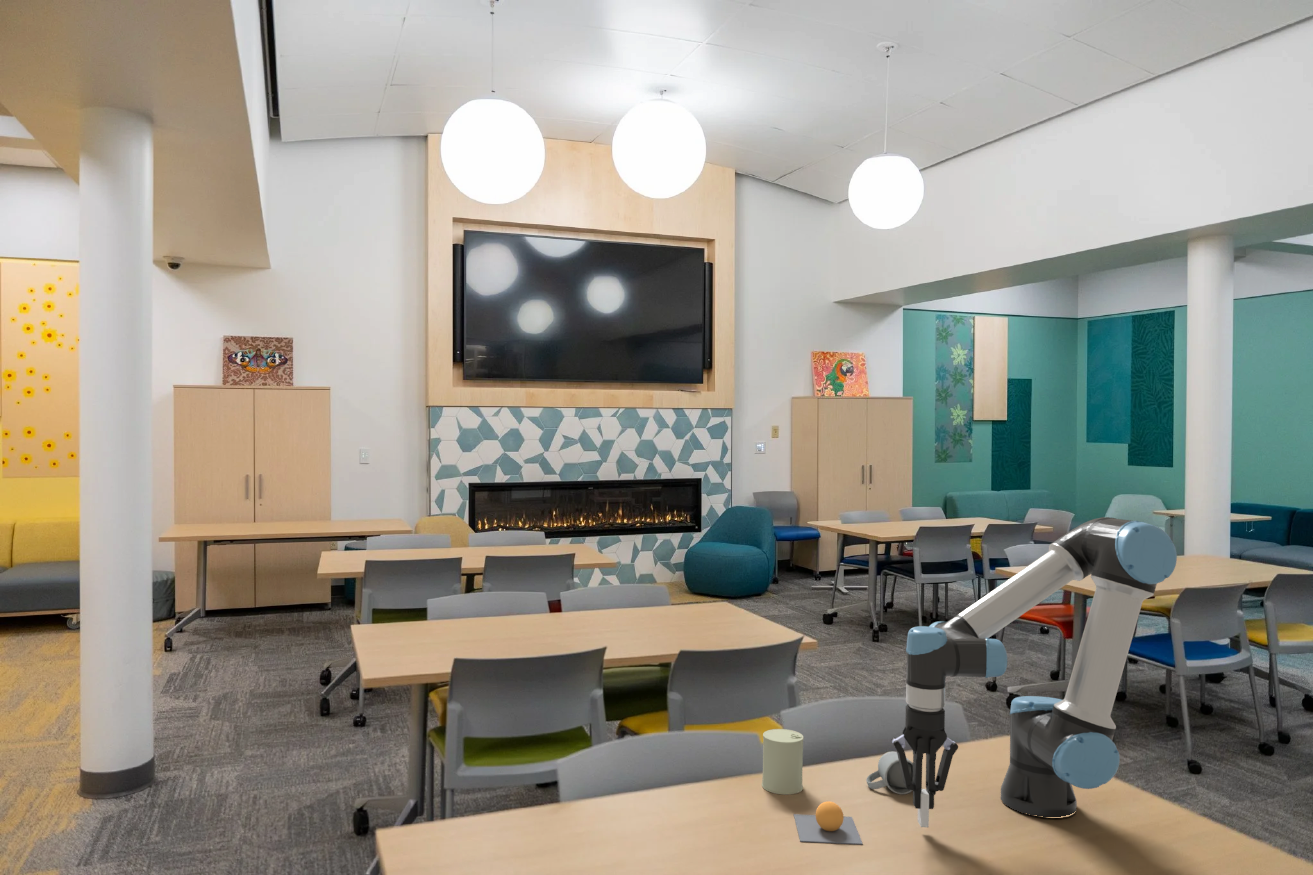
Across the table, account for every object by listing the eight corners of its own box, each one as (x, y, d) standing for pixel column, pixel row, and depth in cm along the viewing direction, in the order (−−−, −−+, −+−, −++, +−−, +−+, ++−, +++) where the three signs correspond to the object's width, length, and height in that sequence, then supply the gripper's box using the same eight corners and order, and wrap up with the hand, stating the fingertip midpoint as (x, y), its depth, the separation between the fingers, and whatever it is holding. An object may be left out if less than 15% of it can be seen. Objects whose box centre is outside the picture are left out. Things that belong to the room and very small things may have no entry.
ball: (843, 799, 174) (816, 794, 174) (848, 811, 169) (820, 805, 169) (838, 826, 174) (811, 820, 174) (842, 838, 169) (815, 833, 169)
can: (802, 796, 188) (803, 741, 188) (760, 792, 190) (761, 738, 190) (803, 780, 197) (804, 728, 197) (763, 776, 199) (764, 725, 199)
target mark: (851, 817, 178) (851, 816, 178) (862, 844, 166) (862, 843, 166) (793, 815, 178) (793, 814, 178) (800, 841, 166) (800, 840, 166)
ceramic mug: (906, 780, 199) (906, 746, 199) (919, 794, 190) (919, 759, 190) (861, 780, 198) (861, 747, 198) (872, 795, 190) (872, 760, 190)
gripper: (952, 701, 174) (950, 817, 174) (888, 699, 175) (885, 814, 175) (964, 713, 167) (961, 834, 167) (896, 710, 168) (894, 831, 167)
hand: (923, 824), depth 171 cm, fingers closed
